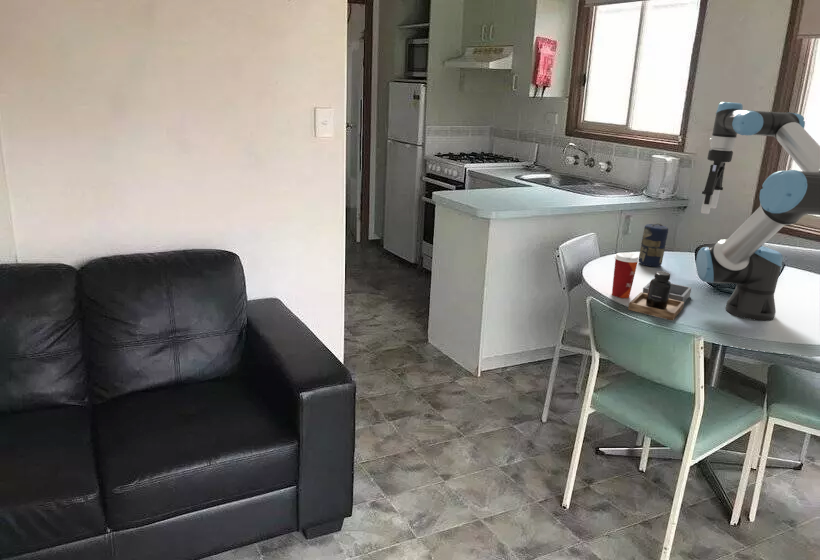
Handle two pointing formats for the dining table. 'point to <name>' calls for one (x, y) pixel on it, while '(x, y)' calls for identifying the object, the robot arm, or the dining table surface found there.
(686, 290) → the holder box
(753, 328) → the dining table surface
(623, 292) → the coffee cup
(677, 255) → the dining table surface
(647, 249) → the canister
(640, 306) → the tray
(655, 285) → the supplement bottle
